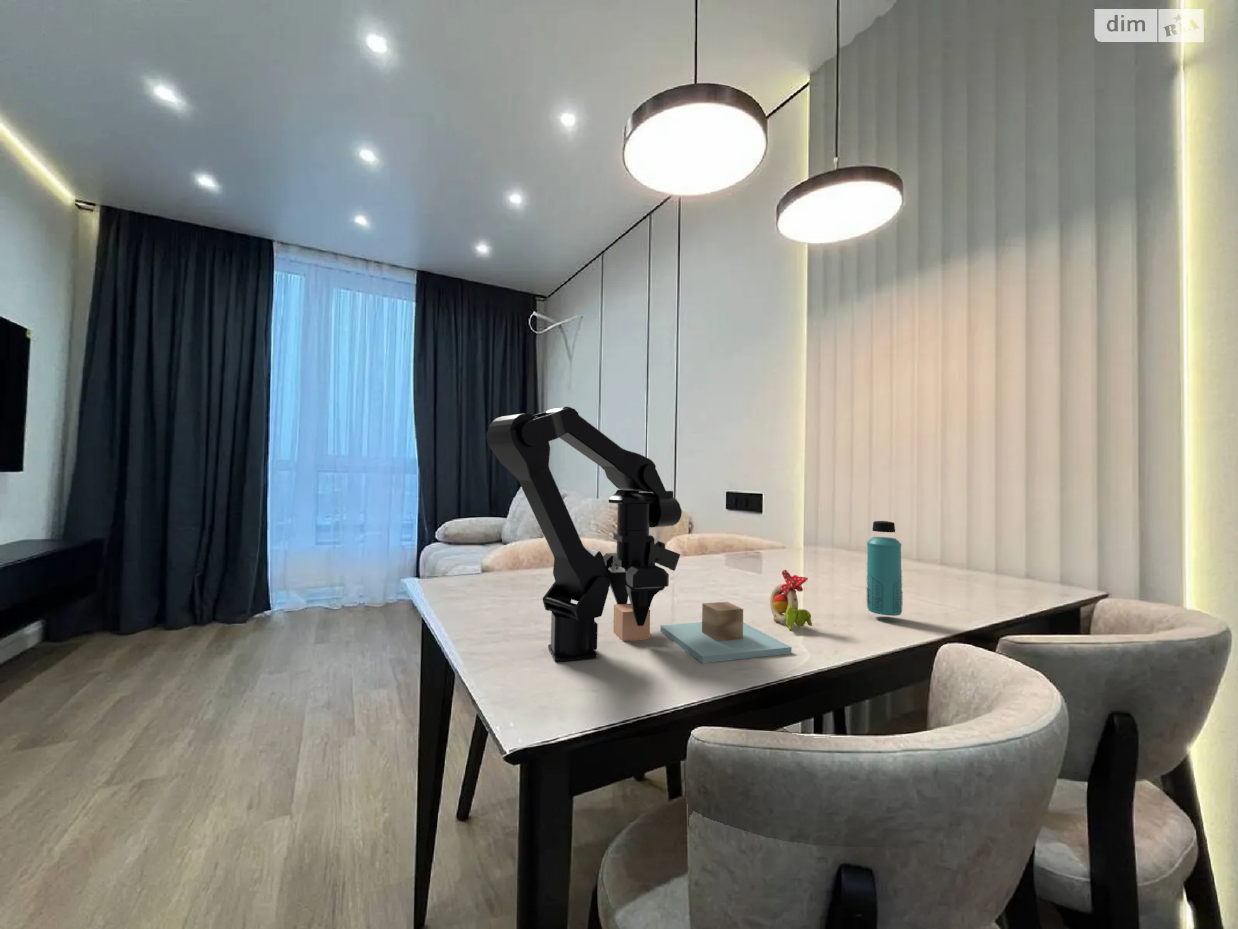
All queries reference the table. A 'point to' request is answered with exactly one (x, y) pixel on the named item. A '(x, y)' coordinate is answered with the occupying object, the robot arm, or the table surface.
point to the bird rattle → (789, 602)
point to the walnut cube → (722, 621)
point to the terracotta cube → (629, 624)
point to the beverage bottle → (884, 572)
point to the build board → (723, 643)
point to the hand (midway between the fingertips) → (631, 618)
